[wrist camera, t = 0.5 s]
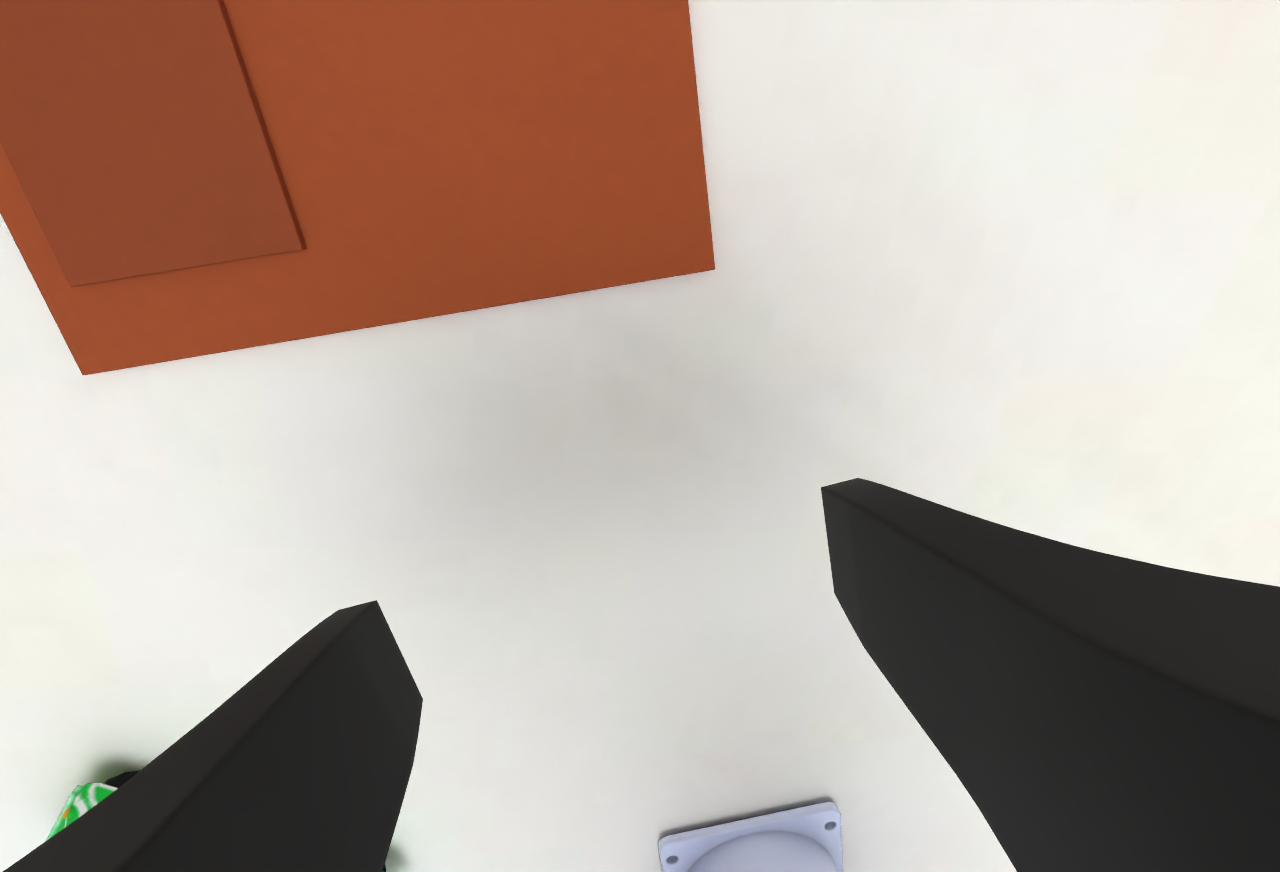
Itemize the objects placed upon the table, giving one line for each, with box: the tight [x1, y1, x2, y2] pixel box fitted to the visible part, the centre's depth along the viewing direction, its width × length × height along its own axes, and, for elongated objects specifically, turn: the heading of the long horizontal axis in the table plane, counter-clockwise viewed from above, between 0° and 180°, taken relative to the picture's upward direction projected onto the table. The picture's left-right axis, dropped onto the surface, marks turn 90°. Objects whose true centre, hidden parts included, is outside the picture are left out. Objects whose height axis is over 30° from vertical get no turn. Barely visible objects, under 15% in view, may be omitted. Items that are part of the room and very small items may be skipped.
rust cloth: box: [0, 0, 715, 375], centre depth 15 cm, size 12×18×1 cm, turn 99°
